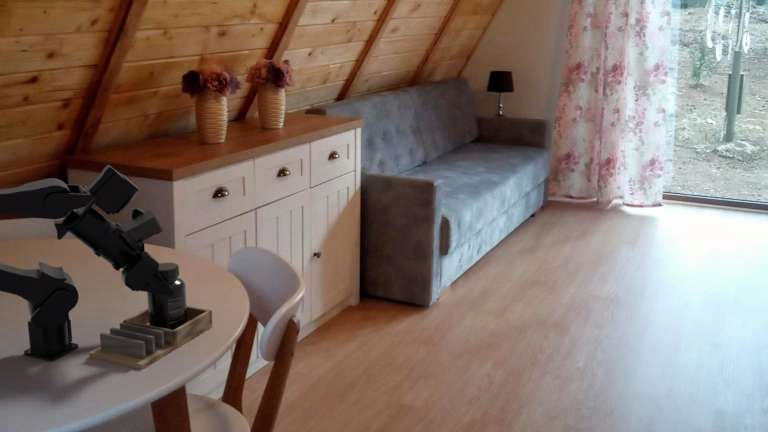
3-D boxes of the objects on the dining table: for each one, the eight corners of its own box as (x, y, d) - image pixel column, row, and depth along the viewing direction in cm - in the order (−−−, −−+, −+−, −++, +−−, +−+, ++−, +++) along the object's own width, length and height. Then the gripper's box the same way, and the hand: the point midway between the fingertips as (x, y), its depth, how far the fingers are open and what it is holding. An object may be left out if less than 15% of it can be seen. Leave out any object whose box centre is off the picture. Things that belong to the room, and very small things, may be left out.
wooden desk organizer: (142, 369, 138) (141, 348, 137) (89, 356, 142) (87, 336, 141) (212, 326, 155) (211, 307, 154) (163, 317, 160) (162, 298, 159)
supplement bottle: (188, 320, 156) (185, 259, 153) (187, 334, 149) (184, 271, 146) (150, 322, 155) (147, 261, 152) (147, 337, 148) (143, 273, 145)
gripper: (142, 211, 135) (211, 267, 143) (122, 187, 152) (184, 239, 159) (95, 263, 134) (167, 317, 142) (79, 233, 150) (144, 283, 158)
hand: (167, 286), depth 150 cm, fingers open, 9 cm apart
